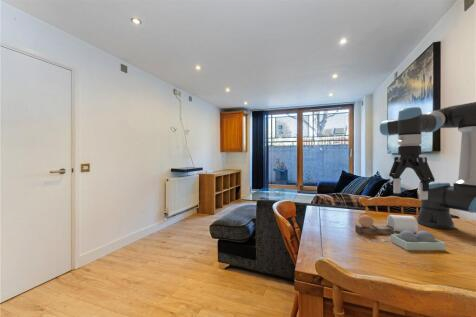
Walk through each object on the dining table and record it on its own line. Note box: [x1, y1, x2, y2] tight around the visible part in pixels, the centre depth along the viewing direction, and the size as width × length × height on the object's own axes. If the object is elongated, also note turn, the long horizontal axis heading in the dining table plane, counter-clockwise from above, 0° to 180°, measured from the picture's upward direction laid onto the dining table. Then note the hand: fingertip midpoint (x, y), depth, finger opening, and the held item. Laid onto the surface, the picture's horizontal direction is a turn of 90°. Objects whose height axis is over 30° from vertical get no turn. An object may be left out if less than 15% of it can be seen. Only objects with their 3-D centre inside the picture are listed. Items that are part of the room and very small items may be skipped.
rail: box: [354, 224, 395, 235], centre depth 102 cm, size 16×4×4 cm, turn 89°
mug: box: [386, 214, 419, 234], centre depth 107 cm, size 12×10×8 cm
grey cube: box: [398, 231, 417, 242], centre depth 87 cm, size 6×6×6 cm
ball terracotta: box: [358, 214, 374, 228], centre depth 102 cm, size 6×6×6 cm
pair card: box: [366, 238, 388, 245], centre depth 92 cm, size 8×6×1 cm
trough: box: [390, 233, 446, 251], centre depth 87 cm, size 15×9×4 cm, turn 90°
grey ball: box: [415, 230, 436, 242], centre depth 87 cm, size 6×6×6 cm
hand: (409, 196), depth 88 cm, fingers open, 13 cm apart
